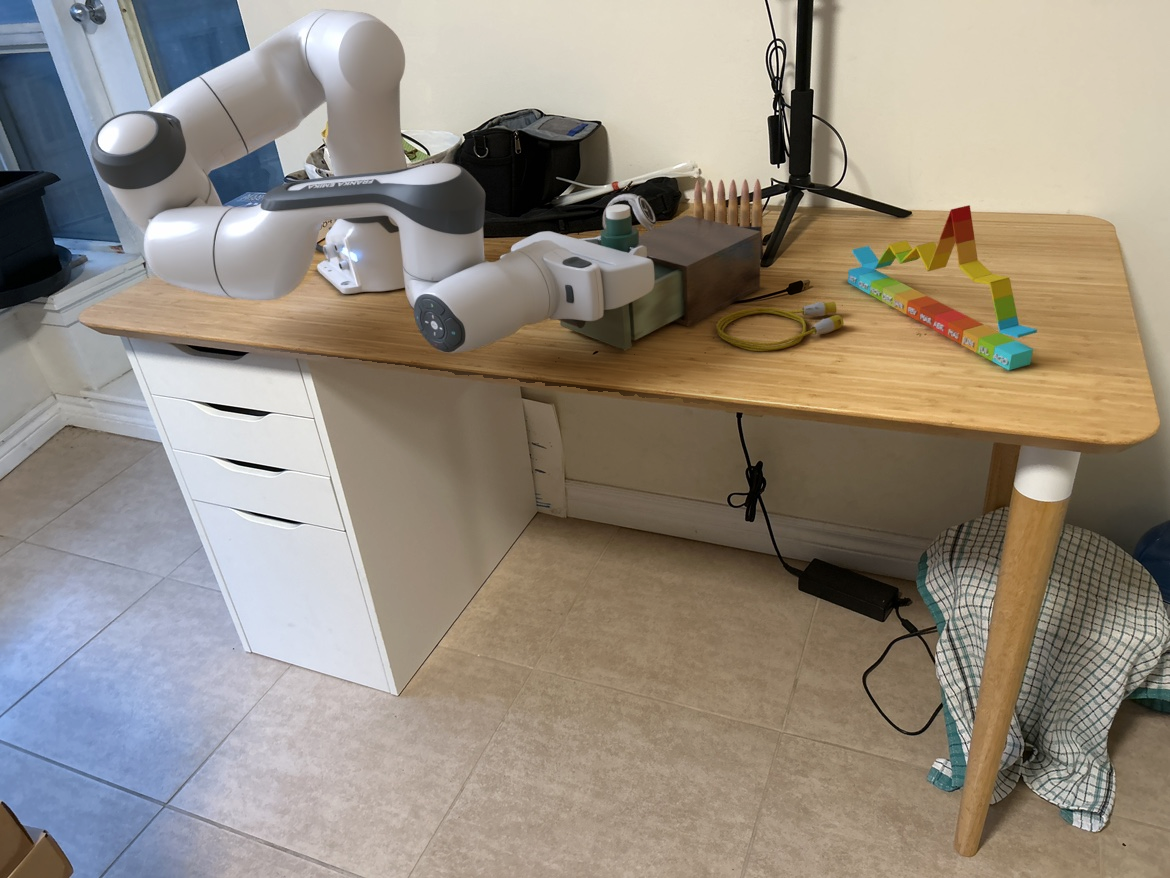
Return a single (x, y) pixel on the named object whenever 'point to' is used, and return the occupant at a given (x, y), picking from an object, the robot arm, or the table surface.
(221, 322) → the table surface
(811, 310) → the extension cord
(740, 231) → the cabinet
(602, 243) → the glue bottle
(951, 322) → the chart
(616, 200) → the watch
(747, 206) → the ammunition clip
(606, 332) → the drawer
